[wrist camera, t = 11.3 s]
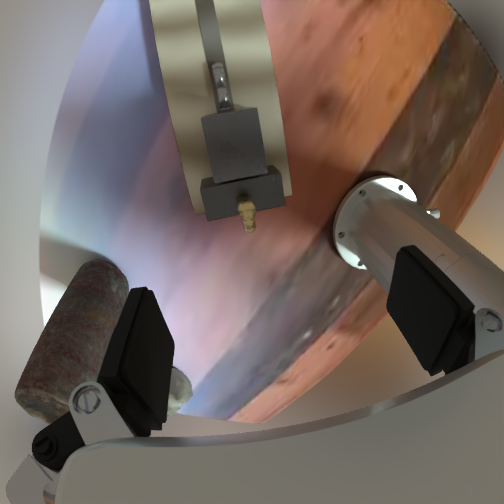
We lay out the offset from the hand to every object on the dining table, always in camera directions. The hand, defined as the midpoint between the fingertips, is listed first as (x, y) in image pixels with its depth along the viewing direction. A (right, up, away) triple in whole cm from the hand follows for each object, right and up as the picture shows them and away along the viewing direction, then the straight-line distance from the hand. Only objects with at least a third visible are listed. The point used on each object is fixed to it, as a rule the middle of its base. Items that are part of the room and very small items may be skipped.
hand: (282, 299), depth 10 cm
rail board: (-4, +18, +12) cm, 22 cm away
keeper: (-2, +8, +17) cm, 19 cm away
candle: (-20, -2, +22) cm, 29 cm away
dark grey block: (-3, +14, +13) cm, 19 cm away
